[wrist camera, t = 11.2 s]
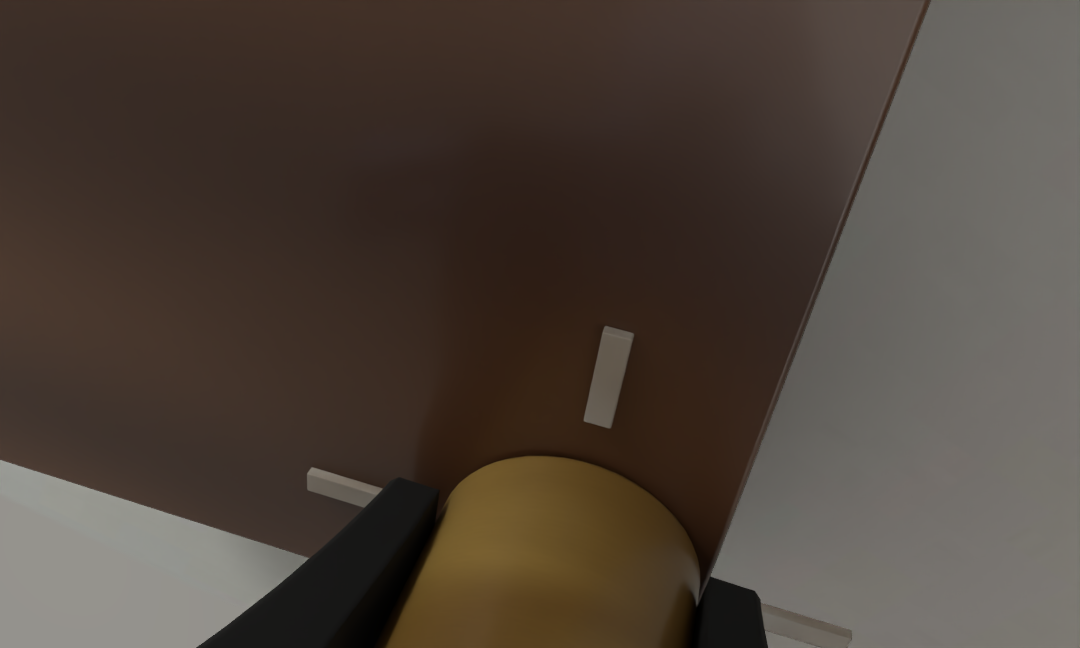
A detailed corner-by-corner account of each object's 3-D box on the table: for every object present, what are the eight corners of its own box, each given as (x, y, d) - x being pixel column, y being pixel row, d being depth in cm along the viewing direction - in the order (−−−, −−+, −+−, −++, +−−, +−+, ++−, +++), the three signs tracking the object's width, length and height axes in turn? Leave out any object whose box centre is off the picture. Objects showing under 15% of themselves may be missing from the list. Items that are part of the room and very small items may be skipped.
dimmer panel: (773, 634, 17) (764, 794, 14) (121, 435, 19) (11, 543, 16) (1305, -482, 8) (1552, -601, 5) (-87, -651, 9) (-421, -798, 7)
